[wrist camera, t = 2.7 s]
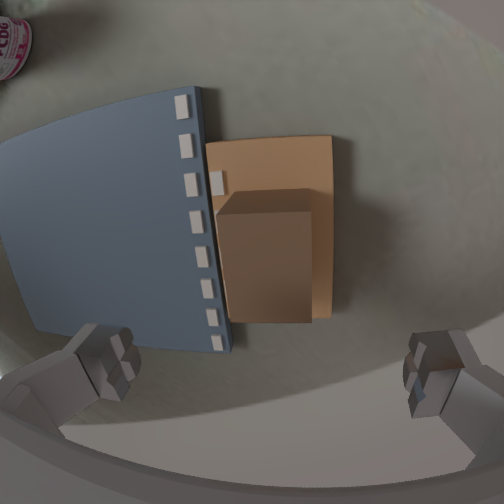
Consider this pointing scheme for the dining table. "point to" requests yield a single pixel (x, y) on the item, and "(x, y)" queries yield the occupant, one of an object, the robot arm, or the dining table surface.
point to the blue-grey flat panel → (118, 223)
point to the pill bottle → (13, 45)
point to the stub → (274, 226)
